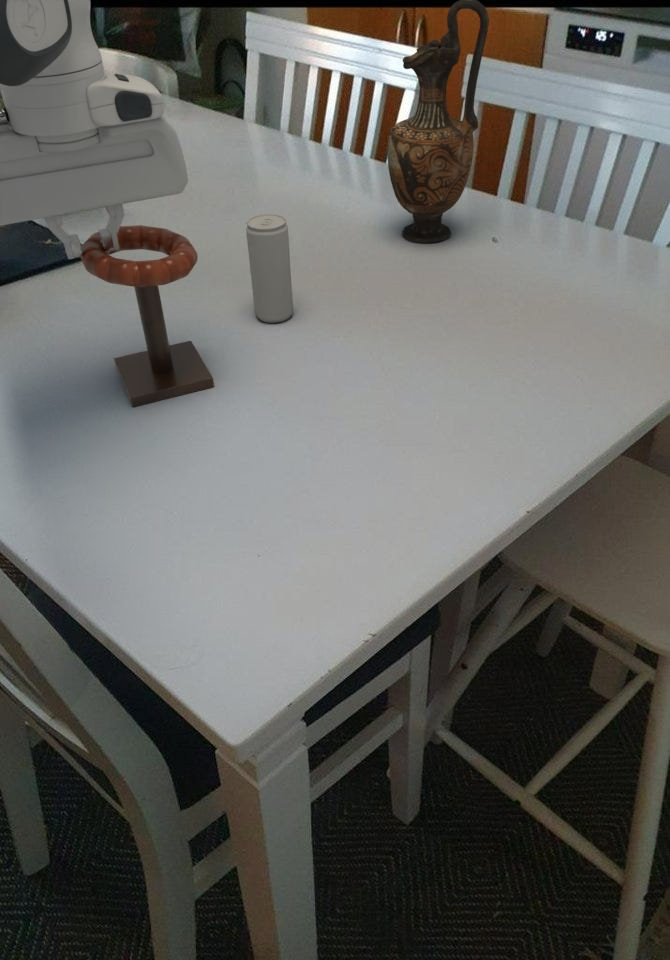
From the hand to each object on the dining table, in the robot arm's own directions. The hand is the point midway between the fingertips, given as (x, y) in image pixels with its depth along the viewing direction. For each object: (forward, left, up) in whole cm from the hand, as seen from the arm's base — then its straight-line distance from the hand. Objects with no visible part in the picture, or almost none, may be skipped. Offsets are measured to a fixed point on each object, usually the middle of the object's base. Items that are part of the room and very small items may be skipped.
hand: (93, 252), depth 79 cm
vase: (+49, +21, -16) cm, 56 cm away
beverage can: (+20, +8, -16) cm, 27 cm away
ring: (+4, 0, -1) cm, 4 cm away
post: (+4, 0, -15) cm, 16 cm away
